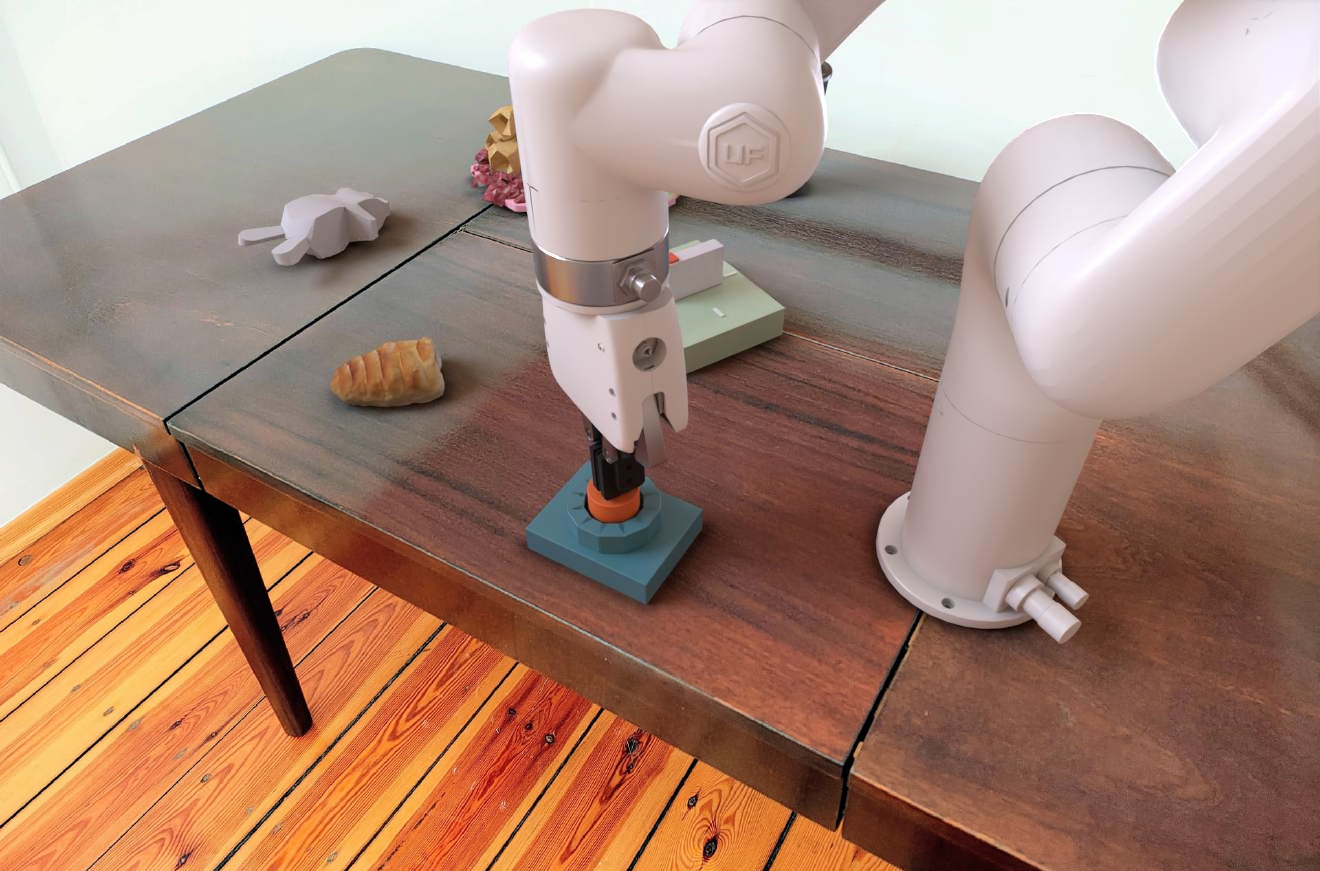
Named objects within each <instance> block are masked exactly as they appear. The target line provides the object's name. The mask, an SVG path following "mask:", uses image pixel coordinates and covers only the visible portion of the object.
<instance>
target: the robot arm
mask: <svg viewBox="0 0 1320 871" xmlns="http://www.w3.org/2000/svg"><path fill="white" fill-rule="evenodd" d="M886 1H887V0H694V2H693V3H692V5H691V6H690V7H689V10H688V11H687V13H686V15H685V18H684V20H683V22H682V24H681V27H680V29H679V32H678V36H677V40H676V45H675V47H673V48H668V47H666V46H664V45H663V43H662V41H661V39H660V36H659V35H658V33H657V32H656V31H655V29H654V28H653V27H652V26H651V24H649V23H648V22H646V21H645V20H644V19H642V18H640V17H638V16H636V15H634V14H632V13H627V12H624V11H619V10H614V9H608V8H607V9H605V8H575V9H567V10H560V11H555V12H552V13H549V14H546V15H544V16H541V17H538V18H536V19H534V20H531V21H530V22H528V23H526V25H524V26H523V27H522V28H521V29H520V30H519V31H518V32H517V33H516V35H515V36H514V38H513V40H512V42H511V44H510V46H509V49H508V58H507V68H508V69H507V70H508V82H509V88H510V97H511V105H513V112H514V119H515V127H516V134H517V142H518V149H519V156H520V164H521V171H522V178H523V185H524V193H525V200H526V207H527V212H526V213H527V221H528V227H529V236H530V242H531V251H532V259H533V265H534V266H533V267H534V274H535V282H536V287H537V289H538V290H537V291H538V292H539V293H540V295H541V296H542V311H543V312H542V313H543V315H542V316H543V325H544V326H543V327H544V335H545V344H546V350H547V356H548V361H549V362H548V363H549V365H550V366H549V367H550V370H551V373H552V375H553V377H554V379H555V381H556V382H557V384H558V386H560V388H561V389H562V391H564V393H565V394H566V395H567V396H568V398H569V399H570V400H571V401H572V402H573V403H574V404H575V406H576V407H577V408H578V409H579V410H580V414H581V418H582V425H583V430H584V433H585V436H586V438H587V440H588V441H589V443H591V445H589V446H588V448H589V456H590V462H591V468H592V477H593V485H594V487H595V488H596V489H597V490H598V491H601V495H602V496H603V498H604V499H605V500H607V501H609V500H611V499H613V498H616V497H618V496H620V495H622V494H624V493H626V492H629V491H631V490H633V489H635V488H637V487H639V486H641V485H642V484H643V483H644V482H645V476H646V472H645V471H646V470H648V471H650V470H653V469H654V468H657V467H658V466H661V465H663V464H664V463H665V464H666V463H667V462H668V457H667V451H666V445H665V440H664V434H663V427H662V423H661V420H663V421H664V422H665V423H666V425H667V426H668V427H669V428H670V429H672V431H673V432H675V434H677V433H679V432H681V431H684V430H685V429H686V428H687V426H688V424H689V423H688V422H689V398H688V381H687V380H688V379H687V374H686V368H685V358H684V349H683V341H682V335H681V329H680V323H679V318H678V313H677V309H676V305H675V301H674V297H673V294H672V292H671V291H670V289H669V288H668V287H667V284H668V282H669V277H670V268H669V266H670V264H669V249H670V225H669V224H670V223H669V222H670V221H669V220H670V218H669V217H670V216H669V207H668V192H669V193H674V194H679V195H680V196H683V197H686V198H687V197H688V198H692V199H696V200H702V201H704V202H705V201H706V202H710V203H715V204H716V203H717V204H722V205H729V206H739V207H740V206H744V207H745V206H748V207H749V206H760V205H761V206H762V205H766V204H767V205H768V204H770V203H774V202H776V201H777V202H778V201H780V200H783V199H785V198H784V197H786V196H788V195H790V194H792V193H793V192H795V191H796V190H798V189H799V188H800V187H801V186H802V185H803V184H804V183H805V182H806V181H807V182H808V180H810V179H811V177H812V175H813V174H814V172H815V171H816V170H817V168H818V166H819V164H820V162H821V160H822V158H823V155H824V153H825V152H824V151H825V148H826V143H827V137H828V124H829V123H828V112H827V103H826V95H825V94H824V86H823V79H822V71H821V65H822V63H823V62H824V61H826V60H828V58H829V57H830V56H831V55H832V54H833V53H834V52H835V51H836V50H837V49H838V48H839V47H840V46H841V45H842V44H843V43H844V42H845V40H846V39H847V38H849V36H850V35H851V34H852V33H854V31H856V30H857V29H858V27H859V26H861V25H862V24H863V23H864V22H865V20H867V19H868V17H870V16H871V15H872V13H874V12H875V11H876V10H877V9H878V8H880V6H882V4H884V3H885V2H886ZM1153 68H1154V69H1153V70H1154V77H1155V83H1156V86H1157V89H1158V92H1159V93H1160V95H1161V98H1162V100H1163V103H1164V104H1165V106H1166V108H1167V110H1168V111H1169V113H1170V115H1171V116H1172V118H1173V120H1174V121H1175V122H1176V124H1177V125H1178V126H1179V128H1180V129H1181V130H1182V132H1183V134H1185V136H1186V137H1187V139H1188V140H1189V141H1190V143H1191V144H1192V146H1194V148H1195V150H1197V151H1196V152H1195V153H1194V154H1193V155H1192V156H1191V157H1190V158H1189V159H1188V160H1187V161H1185V163H1183V165H1181V166H1180V167H1179V168H1178V169H1177V170H1176V169H1175V167H1174V166H1173V164H1172V163H1171V161H1170V160H1169V159H1168V157H1167V156H1166V155H1165V154H1164V153H1163V152H1162V150H1160V148H1159V147H1158V145H1156V143H1154V142H1153V140H1151V139H1150V137H1148V136H1147V135H1145V133H1143V132H1141V131H1140V130H1138V129H1137V128H1136V127H1135V126H1133V125H1132V124H1130V123H1128V122H1126V121H1124V120H1121V119H1118V118H1116V117H1113V116H1111V115H1106V114H1102V113H1094V112H1071V113H1065V114H1059V115H1056V116H1053V117H1049V118H1046V119H1044V120H1042V121H1040V122H1038V123H1035V124H1033V125H1032V126H1030V127H1029V128H1027V129H1025V130H1024V131H1022V132H1021V133H1019V134H1018V135H1017V136H1015V137H1014V138H1013V139H1012V140H1011V141H1010V142H1008V144H1007V145H1006V146H1004V147H1003V149H1002V150H1001V151H1000V152H999V153H998V154H997V155H996V157H995V158H994V160H993V161H992V162H991V164H990V165H989V167H988V169H987V170H986V172H985V174H984V175H983V178H982V180H981V181H980V184H979V187H978V188H977V189H978V190H977V192H976V194H975V197H974V200H973V204H972V207H971V212H970V216H969V222H968V227H967V233H966V240H965V247H964V248H965V249H964V257H963V263H962V264H963V265H962V272H961V281H960V288H959V294H958V300H957V305H956V306H957V307H956V312H955V317H954V322H953V326H952V330H951V335H950V339H949V342H948V347H947V350H946V355H945V359H944V363H943V367H942V370H941V373H940V376H939V381H938V384H937V388H936V391H935V396H934V399H933V403H932V408H931V411H930V414H929V419H928V423H927V426H926V431H925V435H924V438H923V443H922V446H921V450H920V454H919V458H918V462H917V465H916V469H915V472H914V477H913V481H912V485H911V489H910V491H908V492H905V493H904V494H902V495H901V496H899V497H897V499H895V500H894V501H893V502H892V503H891V504H890V505H888V506H887V508H886V510H885V511H884V512H883V515H882V517H881V519H880V521H879V524H878V527H877V528H878V529H877V533H876V539H875V547H876V556H877V559H878V562H879V566H880V569H881V570H882V572H883V573H884V575H885V577H886V579H887V580H888V582H889V583H890V584H891V585H892V586H893V587H894V589H895V590H897V592H898V593H899V594H900V595H901V596H902V597H903V598H905V599H906V600H907V601H908V602H909V603H911V604H912V605H913V606H915V607H916V608H918V609H920V610H921V611H923V612H925V613H926V614H928V615H929V616H932V617H934V618H937V619H939V620H942V621H944V622H946V623H949V624H950V623H951V624H953V625H957V626H962V627H965V628H973V629H982V630H984V629H985V630H987V629H988V630H989V629H1004V628H1008V627H1015V626H1019V625H1021V624H1023V623H1026V622H1028V621H1030V620H1032V619H1033V620H1034V621H1036V623H1037V625H1038V626H1039V627H1040V628H1041V629H1042V630H1043V631H1044V632H1045V633H1046V634H1048V635H1049V636H1050V637H1051V638H1053V640H1055V642H1057V643H1058V644H1059V645H1062V644H1065V643H1066V642H1067V641H1069V640H1070V639H1071V638H1072V637H1073V636H1075V634H1076V633H1077V632H1078V631H1079V629H1080V628H1081V626H1082V621H1081V620H1079V618H1077V617H1076V616H1075V615H1074V614H1073V613H1071V611H1069V610H1068V609H1067V608H1066V607H1064V606H1063V605H1062V604H1061V603H1059V602H1057V601H1055V600H1054V597H1055V595H1057V597H1058V598H1059V599H1060V600H1062V601H1063V602H1064V603H1065V604H1066V605H1068V606H1069V607H1070V608H1071V609H1072V610H1073V611H1076V610H1079V609H1080V608H1082V606H1083V605H1084V604H1085V603H1086V602H1087V601H1088V599H1089V597H1090V594H1089V593H1088V592H1086V591H1085V590H1084V589H1083V588H1081V587H1080V586H1079V585H1078V584H1077V583H1076V582H1074V581H1071V580H1070V579H1069V578H1067V577H1066V576H1065V575H1064V574H1063V562H1062V556H1063V555H1064V552H1065V549H1066V547H1067V544H1066V543H1065V542H1064V541H1063V540H1061V539H1060V538H1058V537H1057V536H1056V535H1055V533H1056V531H1057V529H1058V526H1059V524H1060V522H1061V519H1062V516H1063V514H1064V512H1065V509H1066V508H1067V505H1068V503H1069V500H1070V498H1071V496H1072V493H1073V491H1074V489H1075V486H1076V484H1077V482H1078V479H1079V477H1080V475H1081V472H1082V470H1083V468H1084V465H1085V463H1086V461H1087V458H1088V456H1089V454H1090V451H1091V449H1092V447H1093V444H1094V442H1095V439H1096V437H1097V435H1098V432H1099V430H1100V428H1101V426H1102V424H1103V421H1116V420H1117V421H1120V420H1121V421H1122V420H1130V419H1135V418H1141V417H1144V416H1148V415H1152V414H1156V413H1159V412H1162V411H1164V410H1167V409H1170V408H1173V407H1175V406H1177V405H1179V404H1181V403H1183V402H1185V401H1188V400H1190V399H1192V398H1194V397H1195V396H1197V395H1199V394H1201V393H1202V392H1204V391H1206V390H1208V389H1209V388H1211V387H1213V386H1215V385H1216V384H1218V383H1219V382H1221V381H1222V380H1224V379H1225V378H1228V377H1229V376H1230V375H1232V374H1233V373H1235V372H1236V371H1238V370H1239V369H1240V368H1242V367H1243V366H1245V365H1247V364H1248V363H1250V362H1251V361H1252V360H1254V359H1255V358H1257V357H1258V356H1259V355H1261V354H1262V353H1264V352H1265V351H1267V350H1268V349H1270V348H1271V347H1272V346H1274V345H1275V344H1277V343H1278V342H1279V341H1281V340H1282V339H1284V338H1285V337H1287V336H1288V335H1289V334H1291V333H1293V332H1294V331H1295V330H1297V329H1298V328H1299V327H1301V326H1302V325H1304V324H1306V323H1307V322H1309V321H1310V320H1311V319H1313V318H1314V317H1315V316H1317V315H1318V314H1320V0H1181V2H1179V4H1178V5H1177V7H1176V8H1175V9H1174V10H1173V12H1172V13H1171V15H1170V16H1169V18H1168V20H1167V21H1166V23H1165V25H1164V26H1163V29H1162V31H1161V33H1160V35H1159V37H1158V39H1157V43H1156V48H1155V52H1154V57H1153Z"/></svg>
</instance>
